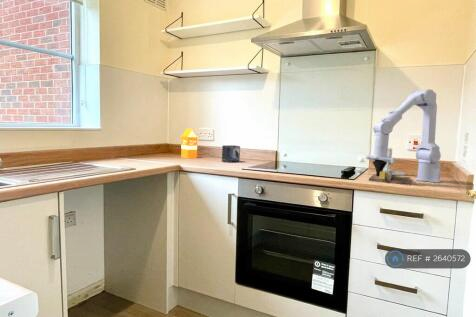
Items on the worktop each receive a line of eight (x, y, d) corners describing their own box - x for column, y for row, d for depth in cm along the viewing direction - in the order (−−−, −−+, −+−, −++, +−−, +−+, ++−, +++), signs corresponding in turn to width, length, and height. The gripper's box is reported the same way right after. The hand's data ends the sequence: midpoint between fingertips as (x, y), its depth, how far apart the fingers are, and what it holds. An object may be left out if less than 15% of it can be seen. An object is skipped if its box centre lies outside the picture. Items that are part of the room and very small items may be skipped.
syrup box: (379, 172, 182) (381, 147, 180) (390, 173, 178) (392, 147, 177) (376, 173, 177) (378, 147, 176) (387, 174, 174) (389, 148, 172)
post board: (410, 179, 161) (411, 168, 160) (409, 185, 143) (410, 173, 143) (373, 175, 169) (374, 165, 168) (368, 180, 152) (369, 169, 151)
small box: (227, 162, 204) (228, 146, 203) (221, 161, 209) (221, 145, 208) (240, 161, 211) (240, 145, 210) (233, 160, 216) (234, 145, 215)
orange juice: (190, 156, 232) (191, 128, 230) (197, 157, 225) (197, 129, 223) (180, 157, 227) (181, 128, 225) (187, 158, 220) (187, 129, 218)
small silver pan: (382, 174, 164) (383, 167, 164) (408, 177, 156) (408, 170, 156) (369, 177, 153) (369, 169, 152) (395, 181, 144) (396, 173, 144)
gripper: (362, 146, 155) (360, 174, 156) (389, 148, 142) (386, 179, 144) (372, 146, 158) (370, 173, 160) (399, 148, 146) (396, 178, 147)
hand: (378, 176), depth 152 cm, fingers closed
